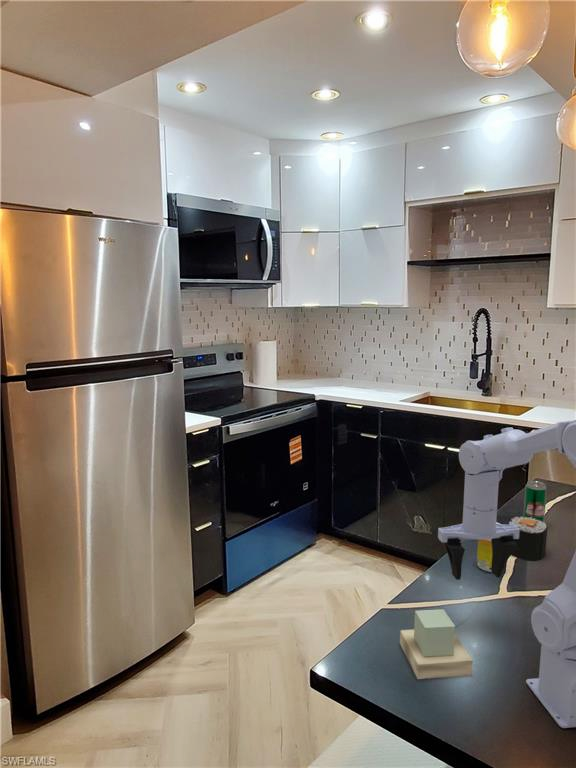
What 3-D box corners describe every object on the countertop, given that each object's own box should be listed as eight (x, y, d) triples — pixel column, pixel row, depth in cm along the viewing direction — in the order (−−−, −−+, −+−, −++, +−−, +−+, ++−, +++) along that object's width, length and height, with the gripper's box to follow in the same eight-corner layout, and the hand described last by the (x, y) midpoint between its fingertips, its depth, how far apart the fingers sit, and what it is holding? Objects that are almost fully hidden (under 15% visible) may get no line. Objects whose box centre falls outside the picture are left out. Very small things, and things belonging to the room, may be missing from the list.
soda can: (524, 529, 141) (527, 485, 139) (521, 521, 146) (524, 479, 144) (545, 531, 140) (548, 487, 138) (542, 523, 145) (545, 481, 143)
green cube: (453, 655, 87) (455, 626, 86) (423, 656, 86) (425, 627, 86) (442, 636, 92) (443, 609, 91) (413, 638, 91) (414, 610, 91)
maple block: (471, 677, 86) (472, 660, 86) (417, 681, 85) (418, 664, 85) (449, 642, 95) (449, 627, 95) (399, 646, 94) (400, 630, 94)
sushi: (548, 551, 129) (551, 519, 127) (538, 564, 122) (541, 531, 121) (513, 541, 134) (516, 511, 133) (502, 553, 127) (504, 522, 126)
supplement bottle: (492, 576, 117) (495, 531, 116) (471, 565, 122) (473, 522, 120) (508, 569, 120) (511, 525, 119) (486, 559, 125) (489, 517, 123)
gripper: (507, 495, 101) (503, 563, 103) (433, 498, 100) (430, 567, 102) (527, 510, 94) (522, 582, 96) (448, 513, 93) (444, 586, 95)
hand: (476, 575), depth 99 cm, fingers open, 7 cm apart
